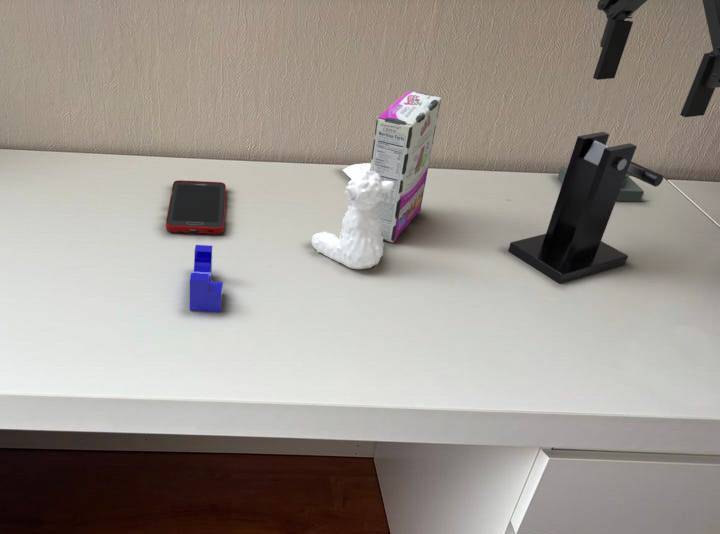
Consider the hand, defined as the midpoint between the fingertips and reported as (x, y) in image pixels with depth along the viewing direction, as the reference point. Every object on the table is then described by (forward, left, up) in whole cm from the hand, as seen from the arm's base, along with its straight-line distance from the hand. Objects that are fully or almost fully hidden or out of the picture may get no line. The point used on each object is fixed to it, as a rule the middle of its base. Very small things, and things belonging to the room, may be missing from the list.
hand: (645, 96), depth 87 cm
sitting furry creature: (+30, -11, -21) cm, 38 cm away
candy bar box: (+20, -17, -21) cm, 33 cm away
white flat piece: (+15, -27, -21) cm, 37 cm away
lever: (0, 0, -10) cm, 10 cm away
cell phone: (+43, -31, -21) cm, 57 cm away
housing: (-18, -14, -21) cm, 31 cm away
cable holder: (+51, -11, -21) cm, 56 cm away
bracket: (+4, 0, -21) cm, 21 cm away
